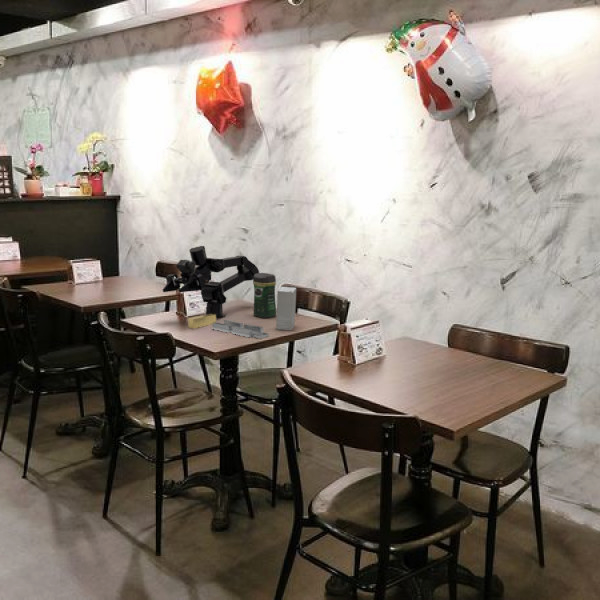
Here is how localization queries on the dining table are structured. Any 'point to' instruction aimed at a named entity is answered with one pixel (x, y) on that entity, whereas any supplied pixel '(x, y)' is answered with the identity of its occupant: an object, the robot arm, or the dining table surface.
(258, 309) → the coffee jar
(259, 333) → the chain ends
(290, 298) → the skincare box
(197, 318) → the master link bar
